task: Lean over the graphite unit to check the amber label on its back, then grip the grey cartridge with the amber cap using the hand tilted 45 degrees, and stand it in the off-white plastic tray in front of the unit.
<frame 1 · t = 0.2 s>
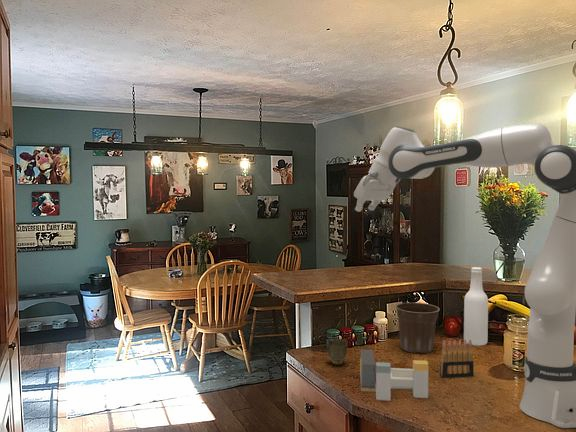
hand: (364, 210, 163), 54 cm above the worktop, tool tilted 30°, fingers open, 8 cm apart
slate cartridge: (383, 398, 142), on the worktop
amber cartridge: (420, 395, 144), on the worktop
cup: (337, 364, 171), on the worktop
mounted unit: (367, 381, 155), on the worktop
parts tray: (403, 383, 153), on the worktop
white bottle: (475, 343, 194), on the worktop
ammunition clip: (456, 376, 159), on the worktop
plant pot: (417, 349, 187), on the worktop
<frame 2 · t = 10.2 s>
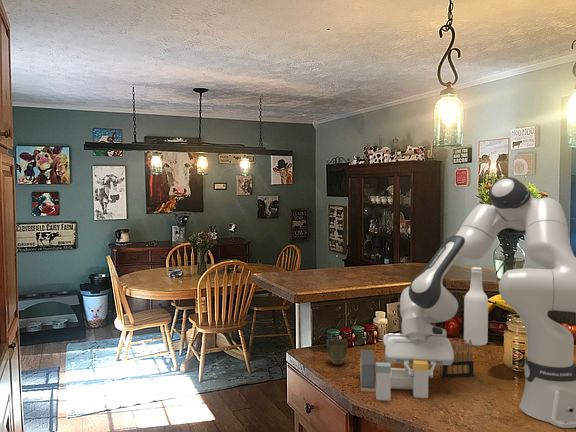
hand: (420, 376, 143), 6 cm above the worktop, tool tilted 45°, fingers closed on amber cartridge, 4 cm apart
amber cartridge: (420, 395, 144), on the worktop, touching gripper
everything else where it was.
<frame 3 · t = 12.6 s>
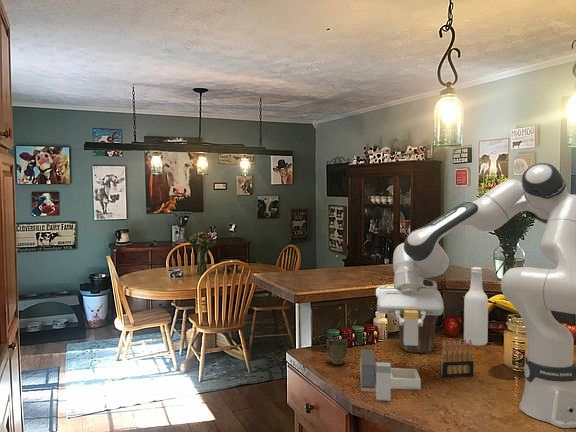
hand: (411, 325, 148), 20 cm above the worktop, tool tilted 45°, fingers closed on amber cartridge, 4 cm apart
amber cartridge: (410, 343, 149), point 14 cm above the worktop, touching gripper
everything else where it was.
when the fingers open (8 cm above the worktop, at t = 15.4 s): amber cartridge drops 2 cm, resting on parts tray.
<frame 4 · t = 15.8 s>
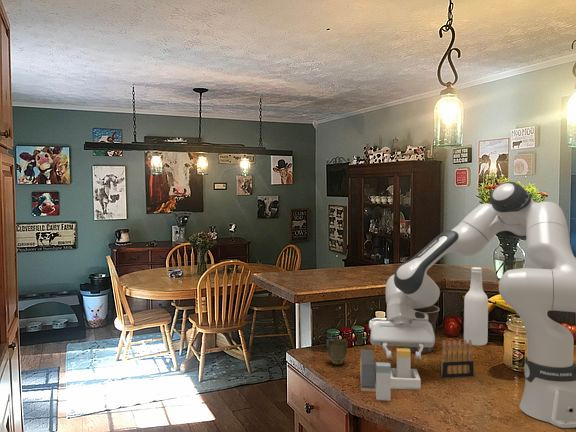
hand: (403, 357, 152), 8 cm above the worktop, tool tilted 45°, fingers open, 8 cm apart
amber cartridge: (403, 381, 153), point 1 cm above the worktop, touching parts tray
everything else where it was.
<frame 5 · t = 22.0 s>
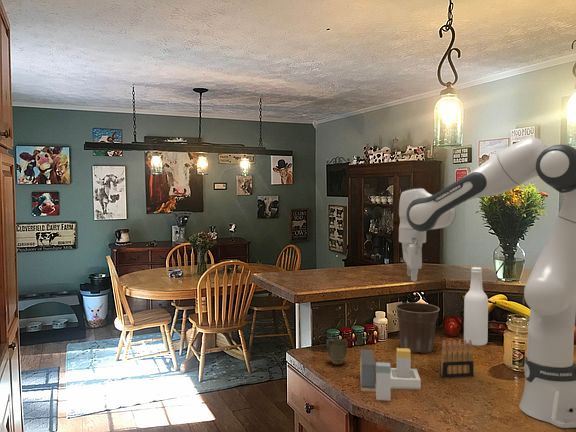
hand: (412, 278, 163), 31 cm above the worktop, tool pointing down, fingers open, 8 cm apart
nothing on the worktop moved.
at the end: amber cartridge 0.1 cm off-centre on the parts tray, point 0.6 cm above the parts tray's base; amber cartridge tilted 0°; the gripper is holding nothing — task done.
